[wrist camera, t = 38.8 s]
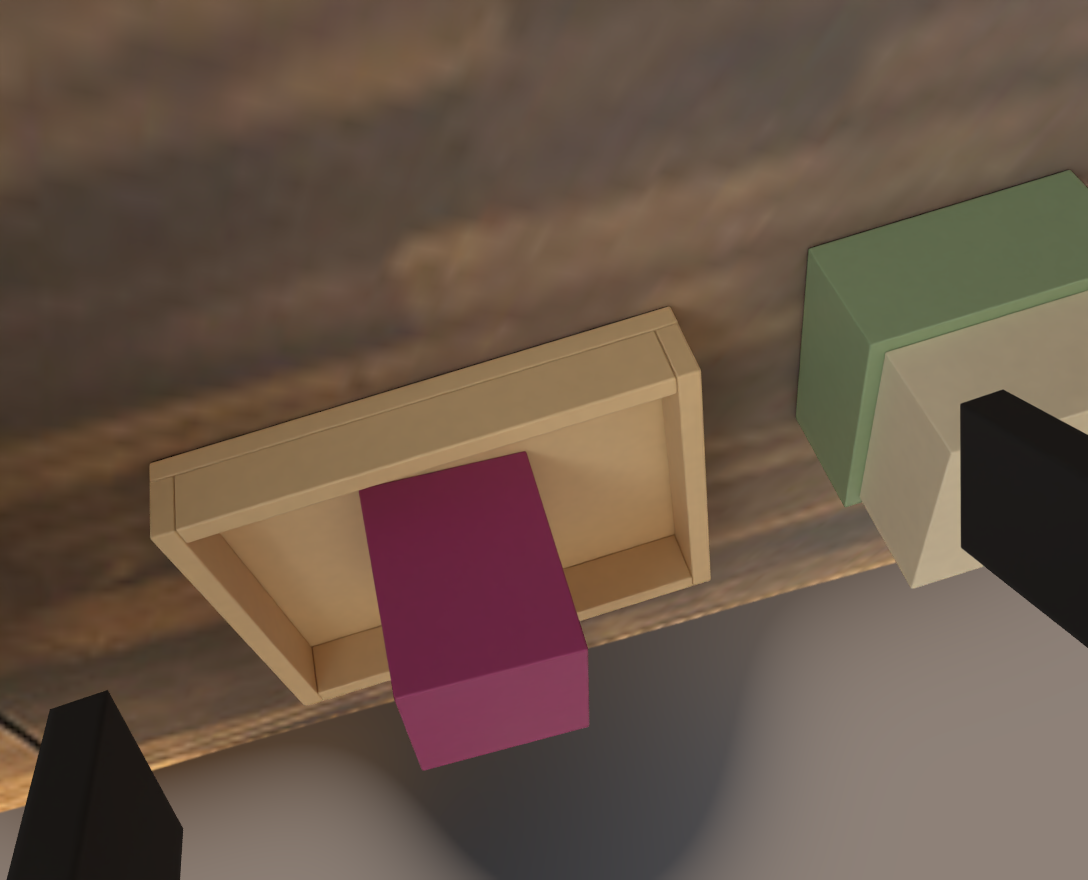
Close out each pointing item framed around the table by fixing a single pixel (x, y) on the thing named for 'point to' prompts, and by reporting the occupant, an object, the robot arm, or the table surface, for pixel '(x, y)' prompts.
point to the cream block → (934, 422)
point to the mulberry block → (475, 610)
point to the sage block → (925, 299)
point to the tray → (437, 444)
